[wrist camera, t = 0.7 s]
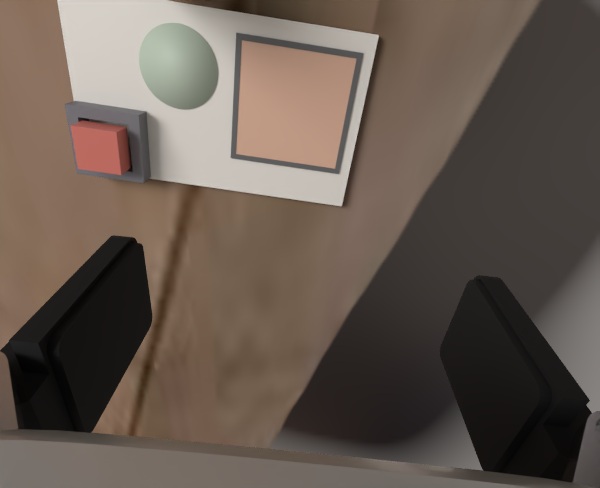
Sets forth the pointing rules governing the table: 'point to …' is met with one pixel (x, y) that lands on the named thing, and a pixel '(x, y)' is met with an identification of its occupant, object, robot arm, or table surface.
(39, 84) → the table surface
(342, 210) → the table surface
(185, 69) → the picture board
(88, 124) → the button
